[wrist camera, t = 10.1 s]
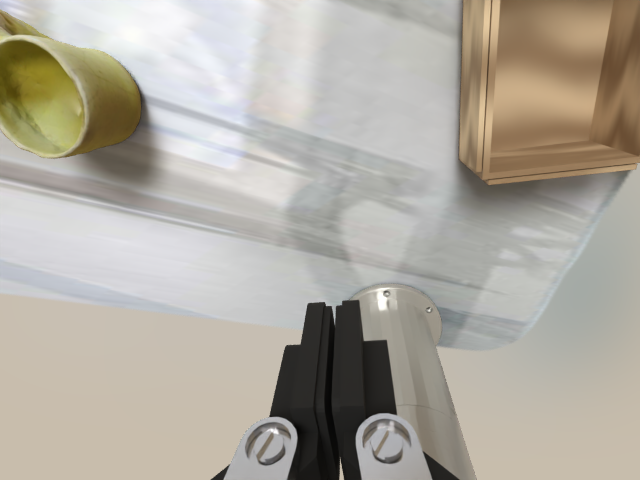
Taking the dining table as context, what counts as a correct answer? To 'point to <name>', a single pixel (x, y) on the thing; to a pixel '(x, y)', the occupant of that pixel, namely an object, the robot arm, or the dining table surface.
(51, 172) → the dining table surface
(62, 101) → the mug
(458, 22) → the dining table surface
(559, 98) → the wooden box
